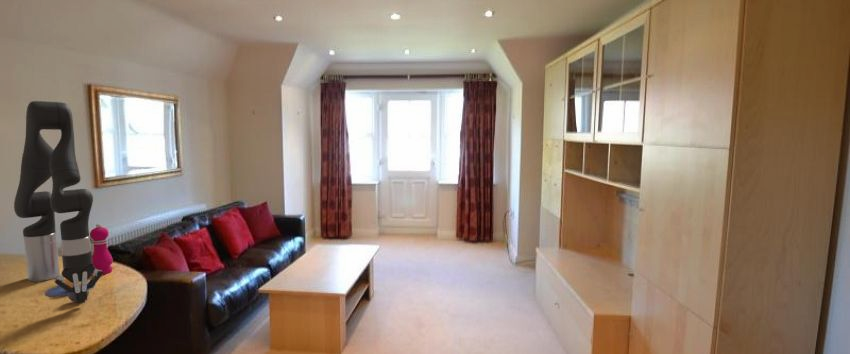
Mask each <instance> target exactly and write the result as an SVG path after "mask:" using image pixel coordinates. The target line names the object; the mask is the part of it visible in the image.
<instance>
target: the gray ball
mask: <svg viewBox="0 0 850 354" xmlns="http://www.w3.org/2000/svg"><path fill="white" fill-rule="evenodd" d="M79 287H80V291H81V285H79ZM89 294H90V290H87V298H88V297H89ZM67 297H68V300H70V301H71V302H73V303H78V302H77V301H76V298H75V293H74V292H71V293H68V296H67Z"/></svg>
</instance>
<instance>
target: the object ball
mask: <svg viewBox="0 0 850 354" xmlns="http://www.w3.org/2000/svg"><path fill="white" fill-rule="evenodd" d="M64 280H65V282H64V283H66V284H67V285H68V286H70V287H74V286H73V283H72V282H70V281H69V280H67V279H66V278H64ZM79 285H81V282H79ZM64 290H65V289H64ZM65 291H66V290H65ZM67 292H68V291H67Z"/></svg>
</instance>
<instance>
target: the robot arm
mask: <svg viewBox="0 0 850 354" xmlns="http://www.w3.org/2000/svg"><path fill="white" fill-rule="evenodd" d="M43 130H52V131H54V130H55V131H57V130H58V131H59V130H60V133H61V134H60V139H59V141H58V143H57V144H56V146H55V147H54V148H52V146H50V144H49V143H48V142H47V141H46V140H45V139H44V138H43V136H42V134H41V131H43ZM74 131H75V130H74V120H73V114H72V110H71V108H70V106H69V104H67V103H66V102H61V101H43V100H33V101H30V102H29V103H28V105H27V107H26V116H25V139H24V145H23V150H22V151H23V152H22V157H21V162H20V175H19V182H18V187H17V191H16V194H15V197H14V203H13V208H14V209H13V210H14V213H15V215H16V216H17V217H18V218H20V219H30V218H38V217H40V219H38V220H37V221H35V222H34V223H32V224H30V225H28V226H25V227H24V228H23V229H22V234H23V236H22V237H23V244H24V254H25V261H26V272H27V281H29V282H35V283H36V282H44V281H49V280H53V279H54V280H53V281H54V283H55V284H56V286H60V287H62V288H63V289H65V290H66V291H68V292H69V293H71V292H74V293H75V298H76V301H77V302H76V303H79V304H83V303H84V304H85V303H86V301H87V300H88V297H87V290H88V289H90V288H92V289H94V287H93V286H94V285H95V286H96V283H98V281H99V280H100V278H101V277H102V274H103V272H102V271H101V270H97V269H95V267H94V265H93V261H92V255H93V253H92V252H93V251H92V249H93V248H92V247H93V246H92V240H91V237H90V230H89V229H90V228H89V219H90V214H91V210H92V208H93V207H92V206H93V202H94V196H93V194H92V192H91V190H89V189H86V188H79V189H78V188H77V189H69V190H64V189H66V188H69V187H72V186H75V185H77V184H79V183H80V182H81V174H80V170H79V166H78V162H77V161H78V160H77V157H76V147H75V146H76V145H75V133H74ZM50 179H51V180H52V190H51V192H50V191H47V190H46V191H36V190H37V189H38V188H40V187H42V185H44V184H45V183H47V181H48V180H50ZM75 212H78V213H77V215H76V216H74V217H70V218H68V219H65V220H62V221H61V222H60V224H59V228H60V238H61V239H60V240H61V243H60V249H61V261H62V271H60V263H59V262H60V261H59V260H60V259H59V252H58V242H57V233H56V231H57V230H56V219H55V218H56V216H55V215H56V214H55V213H57V214H66V213H67V214H68V213H75ZM60 272H61V273H60ZM93 272H94V273H93ZM92 275H93V276H92ZM103 275H104V274H103ZM91 276H92V278H91ZM90 278H91V279H90ZM64 279H67V280H69V281H70V282H72V283H73V286H74V287H70V286H68V285H67V284H66V283H64V282H65V280H64ZM89 279H90V280H89ZM88 280H89V283H88V284H87V281H88ZM79 282H81V291H80V287H79ZM90 290H91V289H90Z"/></svg>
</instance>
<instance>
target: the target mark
mask: <svg viewBox="0 0 850 354" xmlns="http://www.w3.org/2000/svg"><path fill="white" fill-rule="evenodd" d="M89 281H90V280H89ZM89 281H88V280H87V284H88V283H89ZM94 286H96V284H95V285H94ZM94 286H93V288H95V287H94ZM88 290H89V289H88ZM90 290H91V288H90ZM90 290H89V291H90ZM68 293H69V292H67V291H65V290H64V289H63V288H62V287H60V286H59V285H55V286H54V287H50V288H49V289H47V290H46V291H45V296H47V297H51V296H54V297H55V296H61V297H68V296H67V295H68ZM54 297H53V298H54ZM55 298H56V297H55Z"/></svg>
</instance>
